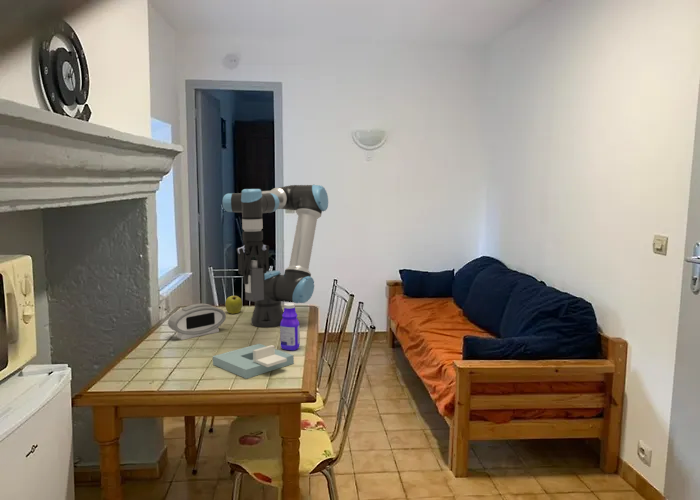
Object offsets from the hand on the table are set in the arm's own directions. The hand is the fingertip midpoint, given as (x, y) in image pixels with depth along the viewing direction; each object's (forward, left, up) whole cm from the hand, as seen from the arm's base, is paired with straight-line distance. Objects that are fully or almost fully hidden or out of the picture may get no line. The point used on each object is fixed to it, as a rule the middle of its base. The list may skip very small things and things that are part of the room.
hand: (254, 291), depth 211 cm
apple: (-24, -51, -22) cm, 61 cm away
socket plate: (+13, +16, -22) cm, 30 cm away
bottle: (-7, +12, -22) cm, 26 cm away
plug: (0, 0, -3) cm, 3 cm away
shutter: (+13, +25, -19) cm, 34 cm away
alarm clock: (+7, -31, -22) cm, 39 cm away
